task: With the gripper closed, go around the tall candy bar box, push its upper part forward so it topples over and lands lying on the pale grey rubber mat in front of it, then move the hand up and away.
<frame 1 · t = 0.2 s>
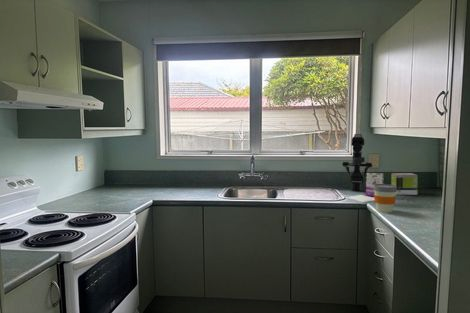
hand: (356, 177, 224), 15 cm above the countertop, tool pointing down, fingers open, 9 cm apart
candy bar box: (374, 196, 234), on the countertop, touching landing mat
tea box: (403, 193, 244), on the countertop
reusable coffee cup: (384, 210, 196), on the countertop
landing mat: (362, 198, 228), on the countertop
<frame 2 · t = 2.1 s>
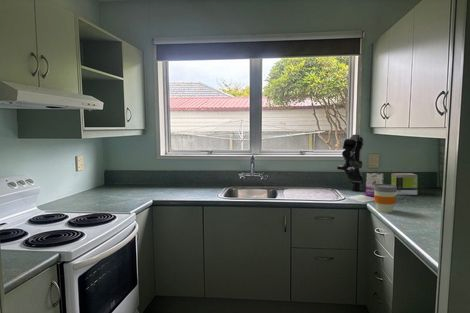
hand: (349, 178, 235), 13 cm above the countertop, tool pointing down, fingers closed
nothing on the countertop moved.
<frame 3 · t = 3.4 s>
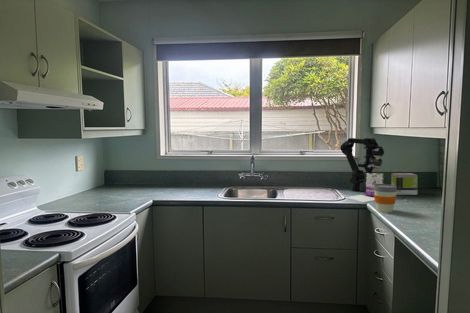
hand: (369, 176, 245), 13 cm above the countertop, tool pointing down, fingers closed
nothing on the countertop moved.
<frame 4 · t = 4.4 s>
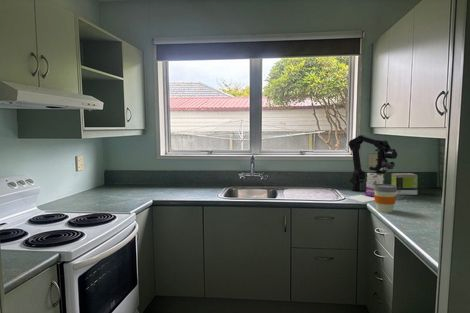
hand: (380, 179, 236), 12 cm above the countertop, tool pointing down, fingers closed
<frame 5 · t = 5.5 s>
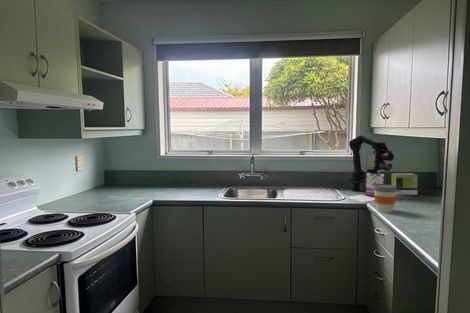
hand: (378, 181, 235), 11 cm above the countertop, tool pointing down, fingers closed
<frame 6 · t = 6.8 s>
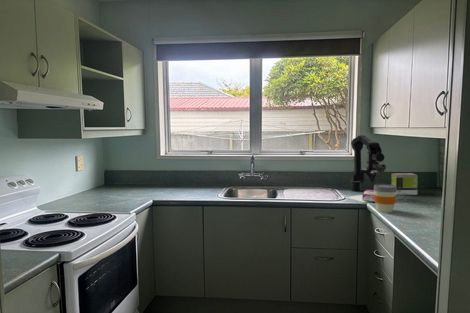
hand: (372, 182, 232), 11 cm above the countertop, tool pointing down, fingers closed
candy bar box: (373, 193, 232), point 3 cm above the countertop, touching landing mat
everything else where it was.
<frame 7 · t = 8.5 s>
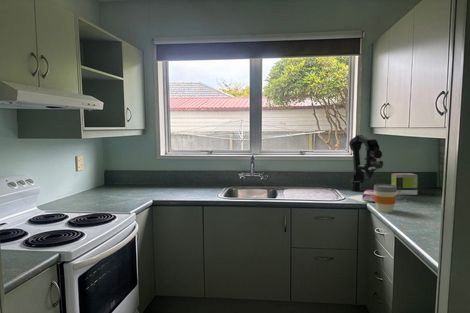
hand: (369, 178, 235), 13 cm above the countertop, tool pointing down, fingers closed
nothing on the countertop moved.
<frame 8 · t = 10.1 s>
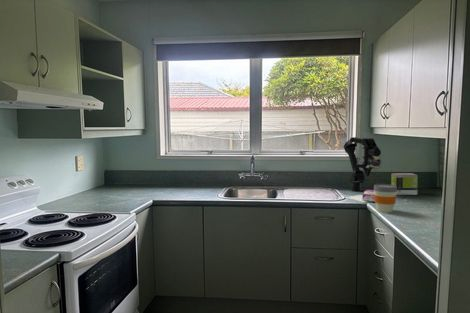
hand: (367, 176, 242), 13 cm above the countertop, tool pointing down, fingers closed
nothing on the countertop moved.
at the end: candy bar box tilted 91°; candy bar box touching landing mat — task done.
